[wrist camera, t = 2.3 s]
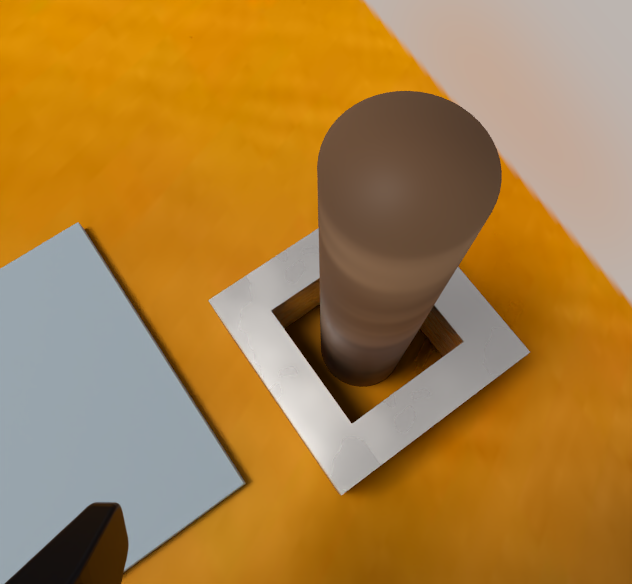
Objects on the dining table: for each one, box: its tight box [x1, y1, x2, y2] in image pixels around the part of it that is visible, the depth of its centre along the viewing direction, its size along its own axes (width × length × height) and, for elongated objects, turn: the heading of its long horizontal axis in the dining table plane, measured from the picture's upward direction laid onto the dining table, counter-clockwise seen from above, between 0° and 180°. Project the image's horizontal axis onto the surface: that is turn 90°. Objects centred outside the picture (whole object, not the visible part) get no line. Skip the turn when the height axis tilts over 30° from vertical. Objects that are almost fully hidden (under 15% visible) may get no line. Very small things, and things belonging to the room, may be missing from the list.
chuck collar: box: [208, 228, 530, 495], centre depth 20 cm, size 8×8×3 cm
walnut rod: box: [317, 91, 501, 386], centre depth 16 cm, size 3×3×13 cm
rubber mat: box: [0, 223, 246, 584], centre depth 21 cm, size 12×12×1 cm
